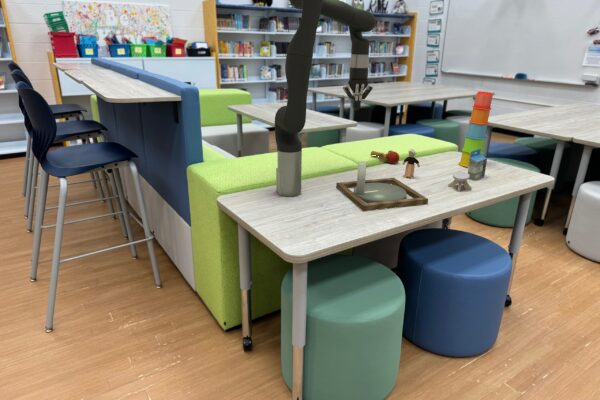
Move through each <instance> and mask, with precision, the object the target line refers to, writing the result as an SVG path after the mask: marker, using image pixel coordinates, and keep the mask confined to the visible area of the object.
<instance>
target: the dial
mask: <svg viewBox="0 0 600 400" xmlns="http://www.w3.org/2000/svg"><path fill="white" fill-rule="evenodd" d="M366 172H367V162H365V161H359V162H358V164H357V178H356V181H357V186H356V187H354V188H353V192H354V194H356V195H357V196H358V197H359V198H360V199H362V200H363V201H364V202H365V203H374V202H384V201H393V200H403V199H407V195H408V194H407V193H406V191H405V190H404V189H403V188H401V187H399V186H396V185H392V184H387V183H365V180H366Z"/></svg>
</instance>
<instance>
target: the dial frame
mask: <svg viewBox="0 0 600 400" xmlns="http://www.w3.org/2000/svg"><path fill="white" fill-rule="evenodd" d="M365 183H387V184H392V185H396V186H399V187H401V188H403V189H404V190H405V191H406V193H407V194H406V195H407V196H409V197H411V198H406V199H403V200H393V201H384V202H374V203H369V202H365V201H363V200H362V199H360V198H359V197H358V196H357V195H356V194H354V191H352V190H351V189H354V188H355V187H356V186H357V180H352V181H342V182H341V181H340V182H336V184H335V185H336V186H335V187H336V189H337V190H338V191H340V192H341V193H342V194H343V195H344V196H345V197H346V198H348V199H349V200H350V201H351V202H352V203H353V204H354V205H355V206H357V208H359V209H360V210H361V211H362V212H368V211H376V209H378V210H386V209H385V208H387V209H395V207H396V208H404V207H412V206H419V205H420V206H422V205H428V204H429V198H428V197H426V196H425V195H423V194H421V193H419V192H418V191H417V190H414V189H413V188H411V187H410V186H408V185H406V184H405V183H403V182H402V181H400V180H399V179H397V178H395V177H386V178H385V177H384V178H374V179H373V178H372V179H365Z"/></svg>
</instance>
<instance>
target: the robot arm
mask: <svg viewBox="0 0 600 400" xmlns="http://www.w3.org/2000/svg"><path fill="white" fill-rule="evenodd" d="M288 1H289V3H290V5H291V6H292V7H293V8H295V9H297V10H299V11H301V17H300V20H299V21H300V22H299V24H298V25H299V26H298V27H297V29H296V31H295V33H294V34H293V36H292V38H291V40H290V41H289V44H288V46H287V49H286V56H285V64H284V72H285V79H286V86H287V102H286V105H283V106H281V107H279V108H278V109H277V111H276V113H275V116H274V135H275V136H274V137H275V138H274V139H275V143H276V148H277V167H276V168H275V170H276V171H275V180H276V181H275V185H276V188H275V189H276V193H277V194H278V195H279V196H280V197H282V196H283V197H295V196H296V197H297V196H299V195H301V194H302V171H303V170H302V169H303V167H302V164H303V162H302V160H303V159H302V157H303V156H302V155H303V154H302V153H303V150H302V149H303V148H302V147H303V145H302V141H301V140H300V138H299V133H300V132H302V130H303V129H304V127H305V124H306V121H307V104H308V103H307V102H308V100H307V99H308V91H309V85H310V76H311V71H312V70H311V69H312V64H313V57H314V48H315V43H316V36H317V30H318V26H319V25H318V24H319V21H320V16H324V17H326V18H328V19H330V20H333V21H335V22H337V23H340V24H342V25H344V26H347V27H348V33H349V37H350V42H351V52H350V59H349V75H348V76H349V77H348V78H349V80H348V82H347V85H345V86H343V87H342V90H343V91H344V92H345V94H346V95H347V97H348V99H350V100H352V108H353V110H355V111H360V109H361V105H362V100H365V99H366V98H367V97H368V96H369V95H370V93H371V91H372V90H373V89H374V87H373V86H371V85H370V84H369V81H368V79H369V67H370V66H369V65H370V56H369V54H370V40H369V39H367V38H365V37H363V33H368V32H371V31H373V30H374V28H375V27H376V21H377V20H376V17H375V16H374V14H373V13H372V12H370V11H368V10H365V9H362V8H357V7H354V6H353V5H351V4H349V3H347V2H344V1H342V0H288Z"/></svg>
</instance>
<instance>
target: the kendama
mask: <svg viewBox="0 0 600 400" xmlns="http://www.w3.org/2000/svg"><path fill="white" fill-rule="evenodd" d="M371 155H376V156H379V157H378V159H379V161H380V163H386V162H388V163H389V164H391V165H393V164H394V165H395V164H397V163H398V162H399V160H400V154H399V153H398V152H396V151H393V150H391V149H390V150H388V151H387V152H386V153H385V152H379V151H375V150H372V151H371V152H370V156H371Z"/></svg>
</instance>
